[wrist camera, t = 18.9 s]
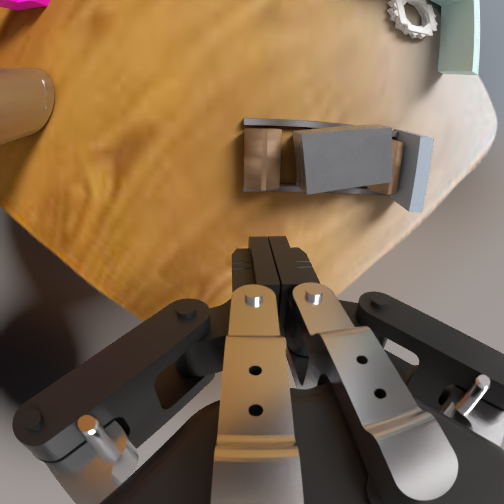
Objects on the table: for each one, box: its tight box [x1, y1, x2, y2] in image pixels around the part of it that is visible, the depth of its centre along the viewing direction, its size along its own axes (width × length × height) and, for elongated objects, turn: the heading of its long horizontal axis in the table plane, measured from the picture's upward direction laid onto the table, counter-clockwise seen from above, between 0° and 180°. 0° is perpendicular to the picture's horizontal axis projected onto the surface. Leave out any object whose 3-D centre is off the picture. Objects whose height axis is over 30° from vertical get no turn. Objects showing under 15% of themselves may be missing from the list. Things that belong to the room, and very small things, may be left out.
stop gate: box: [389, 129, 434, 212], centre depth 32 cm, size 2×9×6 cm, turn 179°
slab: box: [292, 125, 392, 195], centre depth 29 cm, size 10×6×3 cm, turn 98°
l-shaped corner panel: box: [387, 0, 480, 75], centre depth 22 cm, size 12×12×8 cm
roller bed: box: [243, 118, 404, 196], centre depth 32 cm, size 19×8×4 cm, turn 89°
